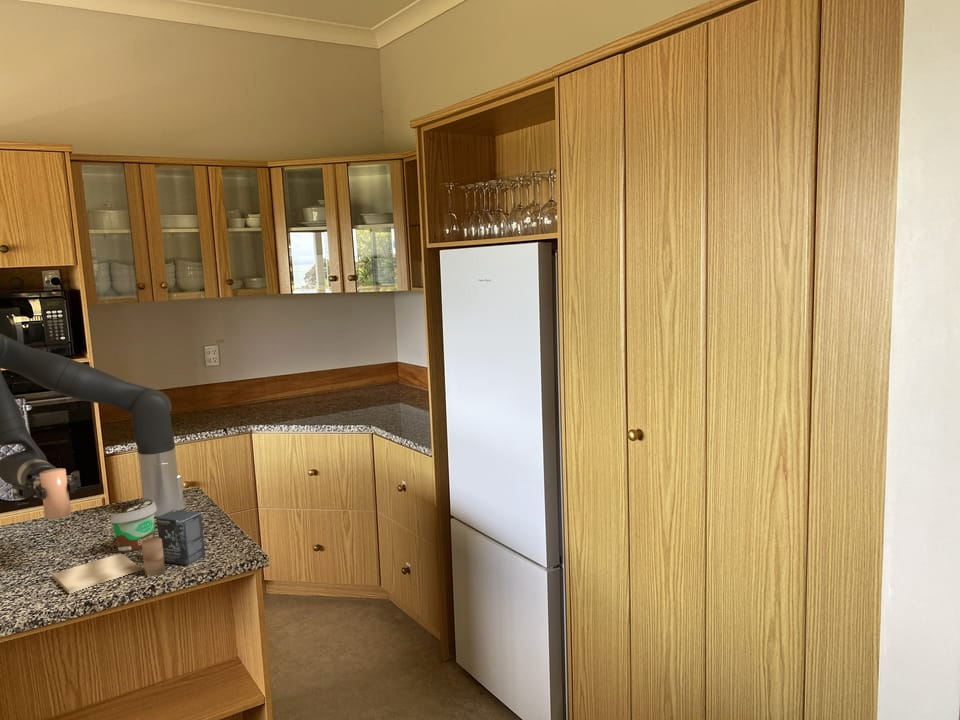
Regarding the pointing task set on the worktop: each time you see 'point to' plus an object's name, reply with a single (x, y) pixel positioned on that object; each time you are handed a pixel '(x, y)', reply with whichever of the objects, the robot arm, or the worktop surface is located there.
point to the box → (181, 536)
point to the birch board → (95, 573)
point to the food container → (134, 526)
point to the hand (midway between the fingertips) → (58, 491)
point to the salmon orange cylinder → (55, 493)
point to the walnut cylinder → (153, 556)
